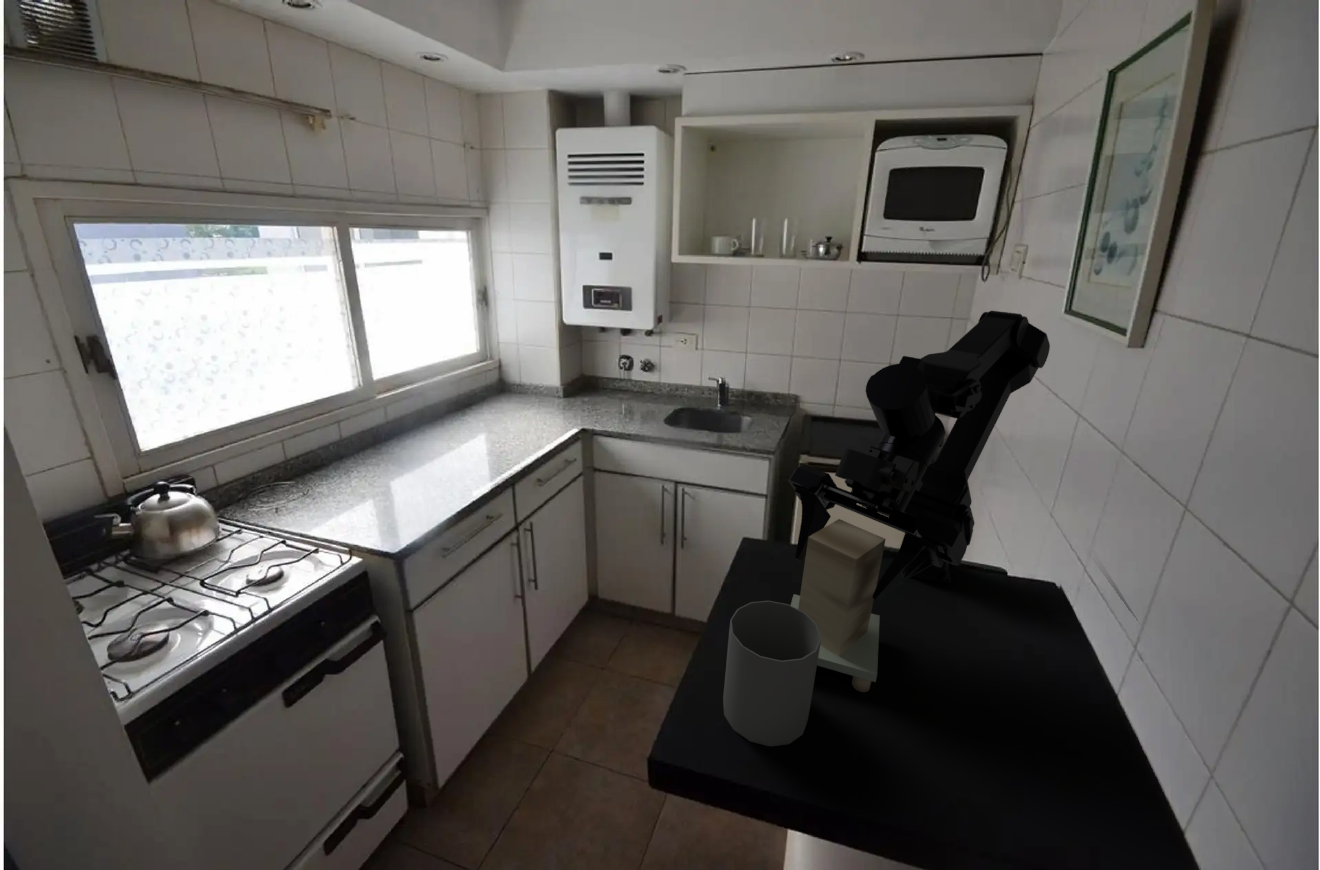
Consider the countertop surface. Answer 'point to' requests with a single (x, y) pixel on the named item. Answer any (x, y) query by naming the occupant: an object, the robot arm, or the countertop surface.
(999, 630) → the countertop surface
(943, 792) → the countertop surface
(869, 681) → the peg shelf
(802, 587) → the beech block
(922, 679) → the countertop surface
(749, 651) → the cup
